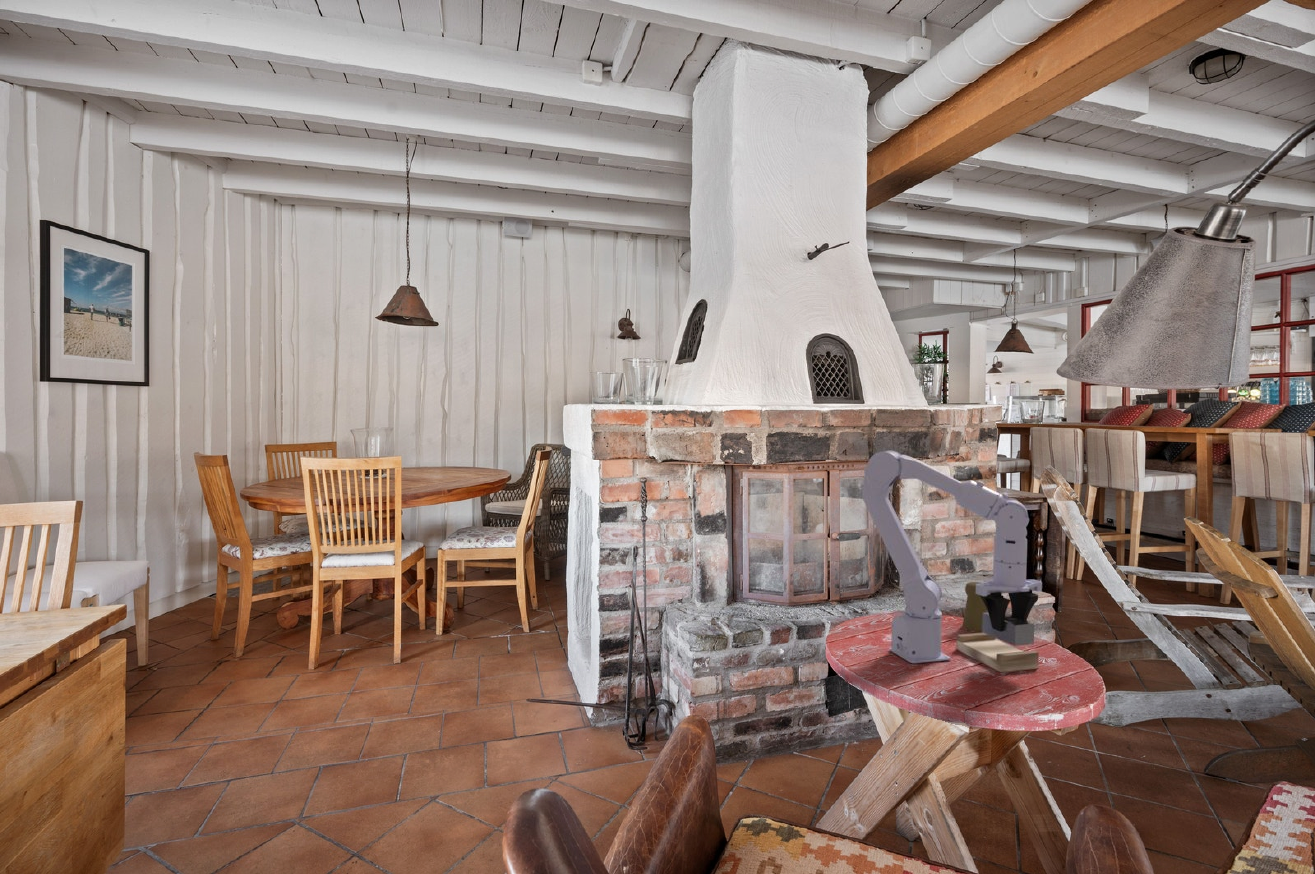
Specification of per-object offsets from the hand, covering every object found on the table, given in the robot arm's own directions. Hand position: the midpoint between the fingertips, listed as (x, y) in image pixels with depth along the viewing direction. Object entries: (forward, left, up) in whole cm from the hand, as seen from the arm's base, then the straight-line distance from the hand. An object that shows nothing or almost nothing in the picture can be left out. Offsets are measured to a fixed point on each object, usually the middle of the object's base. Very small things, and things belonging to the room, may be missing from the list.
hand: (1007, 628), depth 123 cm
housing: (0, 0, -2) cm, 2 cm away
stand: (+3, +6, -8) cm, 11 cm away
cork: (+13, +23, -9) cm, 27 cm away
